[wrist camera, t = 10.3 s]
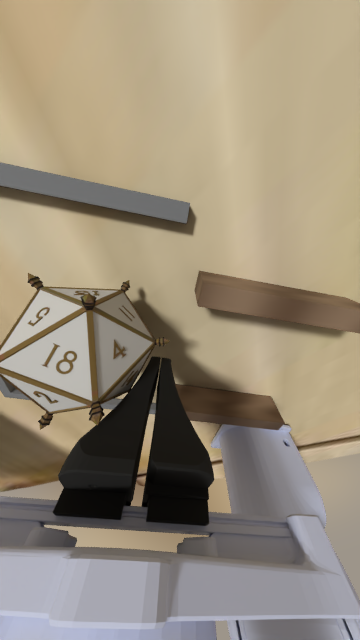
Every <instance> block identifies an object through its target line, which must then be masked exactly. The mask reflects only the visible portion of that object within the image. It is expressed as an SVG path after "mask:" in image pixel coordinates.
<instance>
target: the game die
mask: <svg viewBox="0 0 360 640" xmlns="http://www.w3.org/2000/svg"><path fill="white" fill-rule="evenodd" d="M39 279H40V278H39V277H36V276H33V275H31V274H29V273H28V283H30V284H31V286H32V287H35V288H36V289H37V291H36V293H35V294H34V296H33V297H32V299H31V300H30V302H29V303H28V305H27V306H26V308H25V309H24V311H23V312H22V314H21V315H20V317H19V318H18V320H17V321H16V323H15V324H14V326H13V327H12V329H11V330H10V332H9V333H8V335H7V336H6V338H5V339H4V341H3V342H2V344H1V345H0V377H2V378H3V379H4V380H6V381H7V382H8V383H9V384H11V385H12V386H13V387H15V388H16V389H17V390H19V391H20V392H21V393H23V394H24V395H25V396H26V397H28V398H29V399H30V400H32V401H33V402H34V403H36V404H37V405H38V406H40V407H41V408H42V409H43V410H45V411H46V414H45V415H44V416H42V418H41V420H39V421H38V422H39V423H40V430H41V429H42V428H44V427H45V426H47V425H49V424H50V421H51V420H52V418H53V416H52V415H53V414H55V413H61V412H67V411H73V410H79V409H85V408H91V411H90V413H89V415H90V418H89V420H92V421H93V422H94V423H95V424H96V425H98V424H99V422H100V420H101V419H102V417H103V416H104V413H103V408H102V407H101V404H103V403H105V402H107V401H109V400H112V399H114V398H116V397H118V396H120V395H122V394H124V393H127V392H128V393H129V391H130V390H131V388H132V386H133V384H134V382H135V380H136V379H137V377H138V375H139V373H140V371H141V370H142V368H143V366H144V364H145V362H146V361H147V359H148V357H149V355H150V353H151V352H152V350H153V348H154V346H155V345H159V346H164V345H165V344H167V343H168V342H170V341H169V340H167V339H165V338H164V337H163V338H159V339H155V338H154V337H153V335H152V334H151V332H150V331H149V329H148V328H147V326H146V324H145V323H144V321H143V320H142V318H141V317H140V315H139V314H138V312H137V311H136V309H135V307H134V306H133V304H132V303H131V301H130V300H129V298H128V297H127V295H126V294H125V292H126V291H127V290H128V288H130V285H129V280H128V281H126V282H123V285H122V286H121V290H115V289H90V288H66V287H44V286H43V284H42V283H43V282H42V281H40V280H39Z"/></svg>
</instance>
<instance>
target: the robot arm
mask: <svg viewBox="0 0 360 640" xmlns="http://www.w3.org/2000/svg"><path fill="white" fill-rule="evenodd" d="M160 359H161V358H160V357H151V360H150V362H149V364H148V366H147V367H146V369H145V371H144V372H143V374H142V375H141V377H140V378H139V380H138V381H137V382H136V384H135V385H134V386H133V388H132V389H131V390H130V391H129V393H128V394H127V395H126V396H125V397H124V398H123V399H122V401H121V402H120V403H119V404H118V405H117V406H116V407H115V408H114V409H113V410H112V411H111V412H110V413H109V414H108V415H107V416H106V417H105V418H104V419H102V420H101V421H100V422H99V424H98V425H96V426H95V427H93V428H92V429H91V430H90V431H89V432H88V433H86V434H85V435H84V436H83V437H82V438H80V439H79V441H78V442H77V443H76V445H75V446H74V448H73V449H72V451H71V452H70V454H69V456H68V457H67V459H66V461H65V463H64V465H63V467H62V469H61V471H60V473H59V475H58V477H59V481H60V482H61V484H62V485H63V487H64V489H63V491H62V493H61V495H60V498H59V500H44V499H31V498H18V497H4V496H0V640H217V638H216V625H215V621H217V620H218V621H219V620H227V624H228V629H229V634H230V639H231V640H360V600H359V598H358V596H357V594H356V592H355V589H354V587H353V585H352V583H351V582H350V579H349V577H348V575H347V574H346V571H345V569H344V567H343V565H342V564H341V562H340V560H339V558H338V556H337V554H336V553H335V551H334V549H333V547H332V545H331V543H330V541H329V539H328V537H327V534H326V532H325V530H324V528H325V526H326V512H325V508H324V504H323V500H322V497H321V495H320V492H319V490H318V488H317V486H316V484H315V482H314V480H313V478H312V476H311V474H310V472H309V470H308V468H307V467H306V465H305V463H304V461H303V459H302V457H301V455H300V453H299V451H298V449H297V447H296V445H295V443H294V441H293V440H292V438H291V436H290V434H289V432H290V431H291V430H292V429H291V427H290V426H289V425H283V426H282V427H281V428H280V429H279V430H270V429H261V428H252V427H244V426H235V425H226V424H222V426H221V427H220V429H219V431H218V432H217V434H216V436H215V437H214V439H213V441H212V442H211V447H212V448H221V453H222V459H223V465H224V471H225V477H226V482H227V488H228V494H229V500H230V506H231V512H232V514H229V513H217V512H208V502H207V500H208V499H209V494H208V487H209V486H210V485H211V484H212V482H213V481H214V474H213V469H212V464H211V461H210V457H209V454H208V452H207V450H206V448H205V447H204V445H203V444H202V442H201V440H200V439H199V437H198V435H197V433H196V432H195V430H194V428H193V426H192V424H191V422H190V420H189V418H188V416H187V414H186V412H185V409H184V407H183V405H182V402H181V400H180V397H179V394H178V391H177V388H176V385H175V381H174V377H173V373H172V367H171V360H170V359H167V358H162V362H161V368H160V374H159V380H158V386H157V398H156V411H155V423H154V430H153V436H152V443H151V449H150V456H149V462H148V469H147V475H146V482H145V488H144V495H143V501H142V507H137V506H130V505H131V501H132V500H133V495H134V490H135V484H136V479H137V473H138V468H139V462H140V457H141V451H142V446H143V440H144V435H145V429H146V424H147V419H148V415H149V412H150V408H151V404H152V400H153V397H154V393H155V389H156V384H157V378H158V372H159V365H160ZM44 525H57V526H73V527H89V528H104V529H120V530H136V531H150V532H166V533H181V534H197V535H210V536H209V537H193V538H184V540H183V542H182V543H179V544H178V545H177V553H173V552H162V551H151V550H137V549H122V548H99V547H75V544H76V542H77V538H75V537H73V536H70V535H69V534H68V531H64V530H58V529H52V528H45V527H44Z"/></svg>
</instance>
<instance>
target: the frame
mask: <svg viewBox="0 0 360 640" xmlns="http://www.w3.org/2000/svg"><path fill="white" fill-rule="evenodd" d="M0 186H3V187H8V188H13V189H18V190H23V191H28V192H33V193H38V194H43V195H48V196H52V197H57V198H62V199H67V200H72V201H77V202H82V203H87V204H92V205H97V206H101V207H106V208H111V209H116V210H121V211H126V212H131V213H136V214H141V215H146V216H150V217H155V218H160V219H165V220H170V221H175V222H180V223H185V224H187V218H188V212H189V206H190V203H187V202H183V201H178V200H173V199H168V198H164V197H159V196H154V195H150V194H145V193H140V192H136V191H131V190H126V189H122V188H117V187H112V186H108V185H103V184H98V183H94V182H89V181H84V180H80V179H75V178H70V177H66V176H61V175H56V174H52V173H47V172H42V171H38V170H33V169H28V168H24V167H19V166H14V165H10V164H5V163H0ZM0 390H1V392H2V394H3V395H4V397H9V398H17V399H26V400H30V399H29V398H28V397H26V396H25V395H24V394H23V393H21V392H20V391H19V390H17V389H16V388H15V387H13V386H12V385H11V384H9V383H8V382H7V381H6V380H4V379H3V378H2V377H0ZM121 401H122V399H112V400H109V401H107V402H105V403H103V404H101V407H102V408H104V409H114V408H115V407H116V406H117V405H118V404H119V403H120V402H121ZM155 411H156V404H155V403H152V404H151V408H150V412H149V414H155Z"/></svg>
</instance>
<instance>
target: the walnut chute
mask: <svg viewBox="0 0 360 640" xmlns="http://www.w3.org/2000/svg"><path fill="white" fill-rule="evenodd" d="M195 294H196V299H197V304H198V306H199V307H205V308H211V309H217V310H223V311H229V312H235V313H241V314H247V315H253V316H259V317H265V318H271V319H277V320H283V321H289V322H295V323H301V324H307V325H313V326H319V327H325V328H331V329H337V330H343V331H349V332H355V333H360V303H357V302H355V301H353V300H350V299H348V298H344V297H339V296H333V295H328V294H322V293H317V292H312V291H306V290H301V289H295V288H290V287H284V286H279V285H273V284H268V283H263V282H257V281H252V280H246V279H241V278H235V277H230V276H224V275H219V274H214V273H208V272H203V271H199V274H198V278H197V283H196V287H195ZM175 385H176V388H177V391H178V394H179V397H180V400H181V402H182V405H183V407H184V409H185V412H186V414H187V416H188V418H189V420H191V421H200V422H209V423H217V424H226V425H235V426H244V427H252V428H261V429H270V430H279V429H280V428H281V427H282V426H283V425H284V424H285V423H284V421H283V419H282V417H281V415H280V413H279V411H278V409H277V407H276V405H275V403H274V402H273V400H272V398H271V397H270V396H262V395H254V394H247V393H239V392H231V391H224V390H216V389H208V388H201V387H193V386H185V385H177V384H175Z"/></svg>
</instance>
